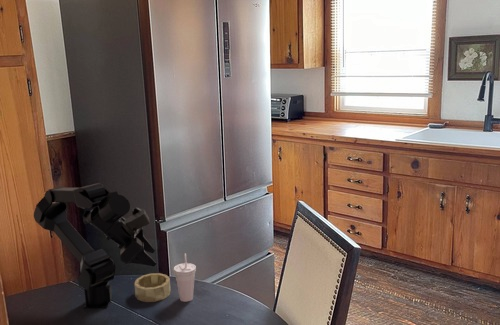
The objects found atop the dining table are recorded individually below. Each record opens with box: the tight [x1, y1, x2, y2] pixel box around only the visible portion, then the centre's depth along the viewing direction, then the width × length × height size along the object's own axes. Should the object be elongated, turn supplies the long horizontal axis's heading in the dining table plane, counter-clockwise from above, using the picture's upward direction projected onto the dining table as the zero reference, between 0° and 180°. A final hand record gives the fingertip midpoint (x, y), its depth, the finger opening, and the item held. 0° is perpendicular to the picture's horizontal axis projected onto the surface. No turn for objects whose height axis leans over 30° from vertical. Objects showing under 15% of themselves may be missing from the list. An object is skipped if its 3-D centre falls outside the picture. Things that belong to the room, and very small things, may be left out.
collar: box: [134, 272, 171, 303], centre depth 139 cm, size 10×10×4 cm
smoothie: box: [173, 252, 197, 303], centre depth 134 cm, size 6×6×14 cm
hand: (154, 258), depth 131 cm, fingers open, 9 cm apart
